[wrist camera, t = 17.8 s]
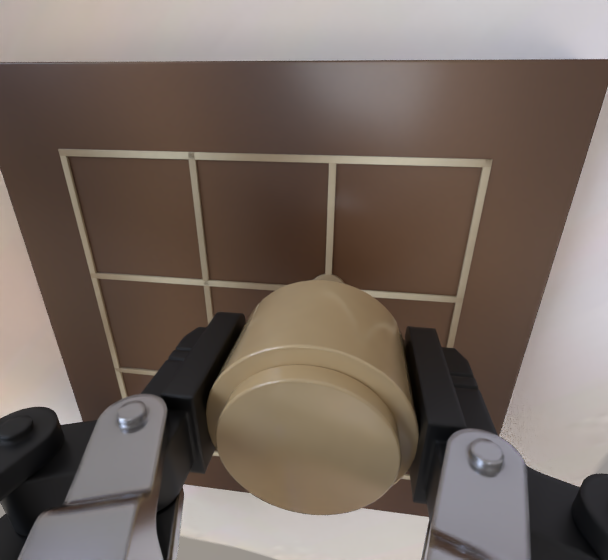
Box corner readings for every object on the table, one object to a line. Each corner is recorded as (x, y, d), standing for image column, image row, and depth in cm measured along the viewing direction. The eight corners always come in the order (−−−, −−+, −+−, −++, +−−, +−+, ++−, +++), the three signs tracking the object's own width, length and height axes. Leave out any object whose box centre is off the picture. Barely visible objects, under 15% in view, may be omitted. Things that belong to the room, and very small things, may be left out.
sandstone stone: (252, 394, 13) (207, 511, 9) (243, 266, 11) (182, 351, 7) (394, 409, 12) (407, 541, 8) (413, 276, 10) (440, 374, 6)
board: (114, 451, 23) (97, 475, 21) (3, 66, 14) (-39, 62, 13) (464, 495, 20) (473, 525, 19) (587, 63, 12) (619, 58, 10)
